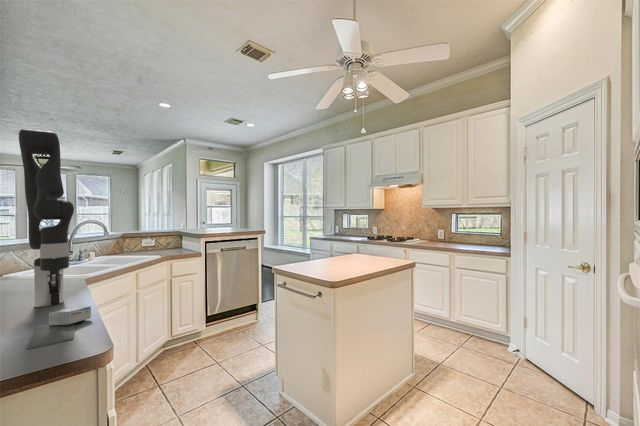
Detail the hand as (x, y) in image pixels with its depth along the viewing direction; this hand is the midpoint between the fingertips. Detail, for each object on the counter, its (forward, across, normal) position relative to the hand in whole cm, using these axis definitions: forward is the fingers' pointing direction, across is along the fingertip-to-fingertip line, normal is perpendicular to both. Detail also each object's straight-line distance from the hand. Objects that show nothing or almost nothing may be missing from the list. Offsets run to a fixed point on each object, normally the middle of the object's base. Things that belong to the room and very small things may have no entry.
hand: (55, 304), depth 100 cm
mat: (+7, +12, 0) cm, 14 cm away
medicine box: (+4, 0, +1) cm, 4 cm away
